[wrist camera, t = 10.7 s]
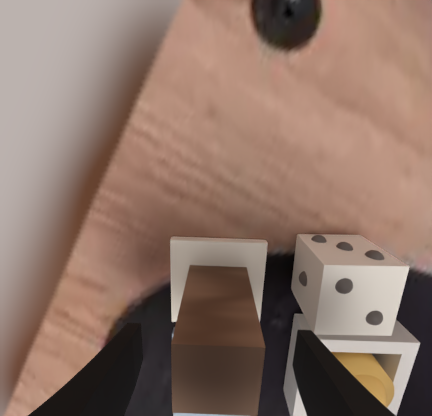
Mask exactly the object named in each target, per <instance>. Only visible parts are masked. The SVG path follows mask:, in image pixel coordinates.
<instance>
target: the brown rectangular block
mask: <svg viewBox="0 0 432 416" xmlns="http://www.w3.org/2000/svg"><path fill="white" fill-rule="evenodd" d="M264 355H265V344H264V339H263V335H262V331H261V327H260V322H259V318H258V314H257V309H256V305H255V301H254V297H253V292H252V288H251V284H250V280H249V275H248V271H247V267H228V266H203V265H190V266H189V270H188V275H187V279H186V283H185V287H184V292H183V296H182V300H181V304H180V309H179V313H178V317H177V321H176V326H175V330H174V334H173V338H172V343H171V364H172V413H193V414H218V415H244V416H257V414H258V405H259V397H260V389H261V380H262V372H263V364H264Z"/></svg>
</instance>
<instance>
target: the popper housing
mask: <svg viewBox="0 0 432 416" xmlns="http://www.w3.org/2000/svg"><path fill="white" fill-rule="evenodd" d="M298 330H311V328H310V326H309V324H308V322H307V320H306V318H305V316H304V314H294V319H293V325H292V332H291V339H290V346H289V353H288V360H287V366H286V373H285V380H284V387H283V390H284V394H285V398H286V402H287V405H288V409H289V413H290V416H307V414H306V411H305V408H304V405H303V403H302V400H301V397H300V394H299V391H298V387H297V383H296V379H295V375H294V370H293V366H292V364H293V357H294V351H295V344H296V337H297V331H298ZM311 331H312V330H311ZM316 336H317V337H318V338H319V339H320V340H321V342H322V343H323V344H324V345H325V346H326V347H327V348H328V349H329V350H330V351H331V352H351V353H372V355H373V356H374V357H375V359H376V360H377V361H378V363H379V364H380V365H381V367H382V368H383V369H384V371H385V372H386V374H387V375H388V376H389V378H390V379H391V380H392V382H393V385H394V390H395V391H394V397H393V399H392V401H391V403H390V404H389V406H388V407H387V408H388V409H389V410H390V411H391V412H392V413H393V414H394V415H397V412H398V409H399V406H400V403H401V400H402V397H403V394H404V391H405V388H406V385H407V382H408V379H409V376H410V373H411V370H412V367H413V364H414V361H415V358H416V355H417V352H418V349H419V346H420V342H419V341H418V340H417V339H416V338H415V337H414V336H413V335H412V334H411V333H410V332H409V331H408V330H407V329H406V328H404V327H403V326H402V325H401V324H400V323H399V322H398V321H397V320H395V324H394V328H393V332H392V336H373V335H316Z"/></svg>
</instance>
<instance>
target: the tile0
mask: <svg viewBox="0 0 432 416" xmlns="http://www.w3.org/2000/svg"><path fill="white" fill-rule="evenodd" d="M173 414H174V416H244V415H218V414H193V413H173Z"/></svg>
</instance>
